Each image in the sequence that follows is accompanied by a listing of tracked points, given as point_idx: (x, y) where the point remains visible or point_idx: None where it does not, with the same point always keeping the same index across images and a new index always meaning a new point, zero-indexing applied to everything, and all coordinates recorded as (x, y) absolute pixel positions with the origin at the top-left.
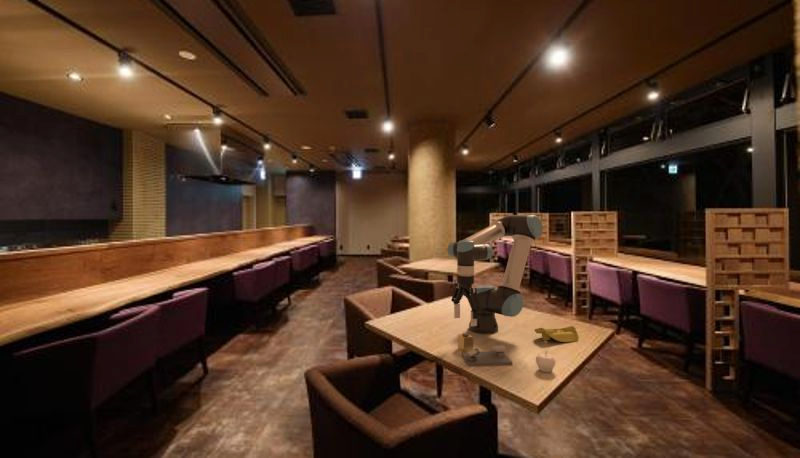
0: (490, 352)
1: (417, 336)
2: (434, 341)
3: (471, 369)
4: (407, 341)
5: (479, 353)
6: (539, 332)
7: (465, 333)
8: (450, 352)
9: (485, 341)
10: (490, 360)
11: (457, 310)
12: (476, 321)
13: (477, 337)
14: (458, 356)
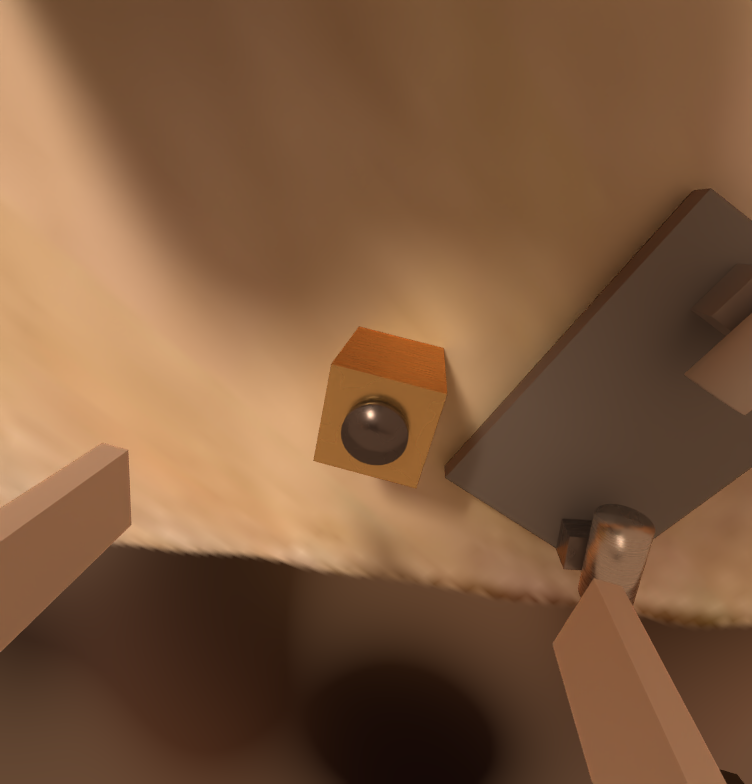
0: (625, 322)
1: (19, 442)
2: (147, 426)
3: None
4: None
5: (645, 516)
6: None
7: (353, 418)
8: (367, 488)
9: (353, 38)
10: (713, 455)
11: (5, 600)
12: (656, 665)
13: (210, 10)
14: (450, 499)
